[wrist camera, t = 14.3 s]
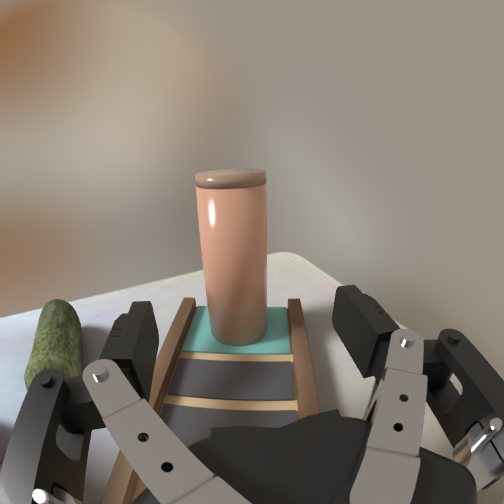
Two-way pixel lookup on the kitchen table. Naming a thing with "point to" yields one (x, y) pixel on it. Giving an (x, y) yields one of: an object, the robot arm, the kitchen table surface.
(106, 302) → the kitchen table surface
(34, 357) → the vegetable
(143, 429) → the robot arm
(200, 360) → the board
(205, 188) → the canister
